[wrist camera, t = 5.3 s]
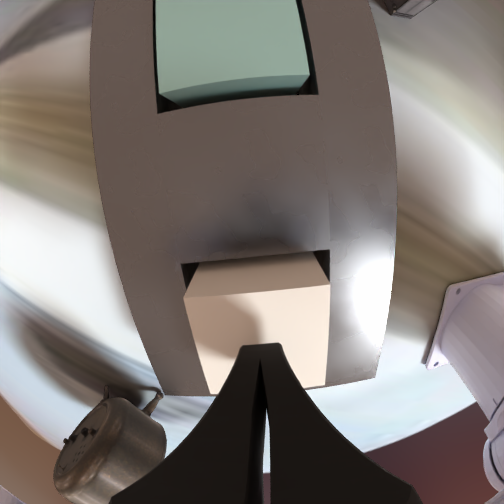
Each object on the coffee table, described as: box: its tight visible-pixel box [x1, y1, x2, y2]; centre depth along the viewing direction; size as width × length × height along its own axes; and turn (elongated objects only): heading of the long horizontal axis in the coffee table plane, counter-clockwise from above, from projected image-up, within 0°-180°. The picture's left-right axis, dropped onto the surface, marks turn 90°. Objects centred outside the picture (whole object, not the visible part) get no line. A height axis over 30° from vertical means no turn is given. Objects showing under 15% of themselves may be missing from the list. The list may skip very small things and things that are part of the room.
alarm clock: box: [53, 385, 167, 504], centre depth 12 cm, size 11×5×16 cm, turn 131°
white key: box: [183, 251, 330, 394], centre depth 12 cm, size 5×5×4 cm
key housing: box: [90, 0, 397, 396], centre depth 12 cm, size 12×22×4 cm, turn 6°
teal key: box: [156, 0, 310, 108], centre depth 9 cm, size 5×5×4 cm
